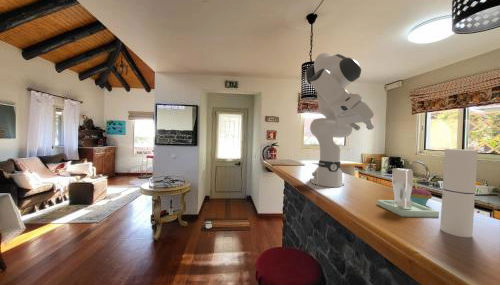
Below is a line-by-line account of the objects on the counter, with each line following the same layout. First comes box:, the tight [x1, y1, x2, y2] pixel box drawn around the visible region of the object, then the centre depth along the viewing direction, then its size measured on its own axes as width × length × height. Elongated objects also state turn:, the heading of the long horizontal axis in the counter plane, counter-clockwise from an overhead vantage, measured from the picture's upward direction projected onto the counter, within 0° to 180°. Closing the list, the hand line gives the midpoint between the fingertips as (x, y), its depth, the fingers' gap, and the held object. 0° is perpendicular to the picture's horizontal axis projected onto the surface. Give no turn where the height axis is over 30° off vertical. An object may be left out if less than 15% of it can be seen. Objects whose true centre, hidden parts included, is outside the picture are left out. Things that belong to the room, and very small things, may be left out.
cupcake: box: [410, 177, 433, 207], centre depth 97 cm, size 9×8×12 cm
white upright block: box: [391, 167, 414, 209], centre depth 88 cm, size 7×7×15 cm
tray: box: [376, 199, 440, 218], centre depth 87 cm, size 14×14×2 cm
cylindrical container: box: [439, 148, 479, 238], centre depth 67 cm, size 7×7×25 cm
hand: (364, 129), depth 91 cm, fingers open, 8 cm apart
